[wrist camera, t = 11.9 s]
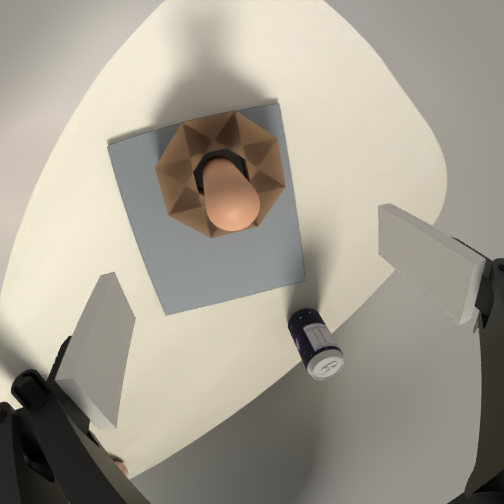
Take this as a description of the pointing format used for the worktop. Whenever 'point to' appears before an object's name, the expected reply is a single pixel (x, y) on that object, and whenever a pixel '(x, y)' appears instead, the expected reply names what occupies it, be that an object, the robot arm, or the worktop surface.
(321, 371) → the beverage can
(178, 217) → the bead
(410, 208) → the worktop surface
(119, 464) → the egg
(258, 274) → the mat
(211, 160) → the tan round-topped peg
